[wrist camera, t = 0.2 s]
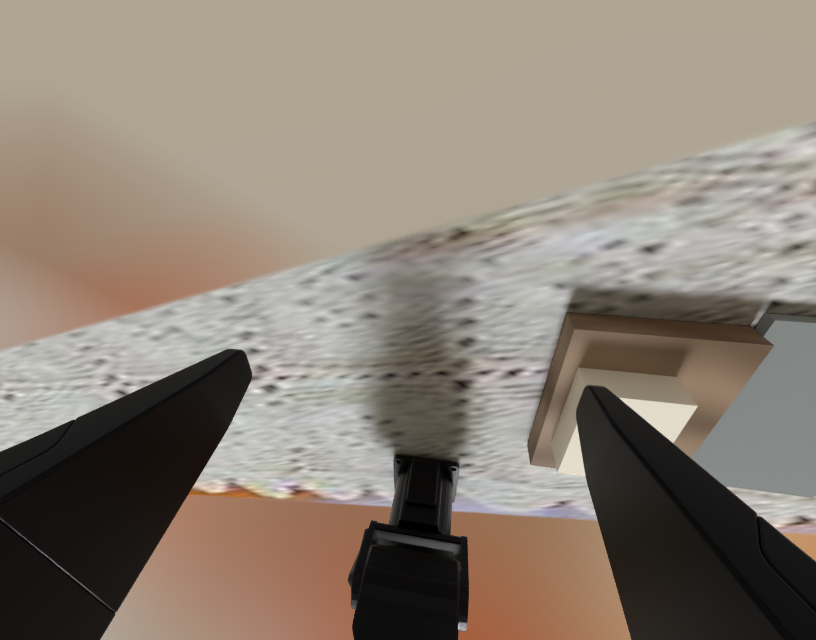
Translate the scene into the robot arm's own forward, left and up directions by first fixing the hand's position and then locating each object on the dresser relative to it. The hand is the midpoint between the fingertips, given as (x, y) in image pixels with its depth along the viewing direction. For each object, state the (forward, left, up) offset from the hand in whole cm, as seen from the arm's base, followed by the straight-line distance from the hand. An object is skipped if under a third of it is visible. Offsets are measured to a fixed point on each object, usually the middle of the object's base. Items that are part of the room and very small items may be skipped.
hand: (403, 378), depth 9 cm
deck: (-13, -14, -14) cm, 24 cm away
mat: (-13, -25, -14) cm, 32 cm away
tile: (-13, -13, -12) cm, 22 cm away
